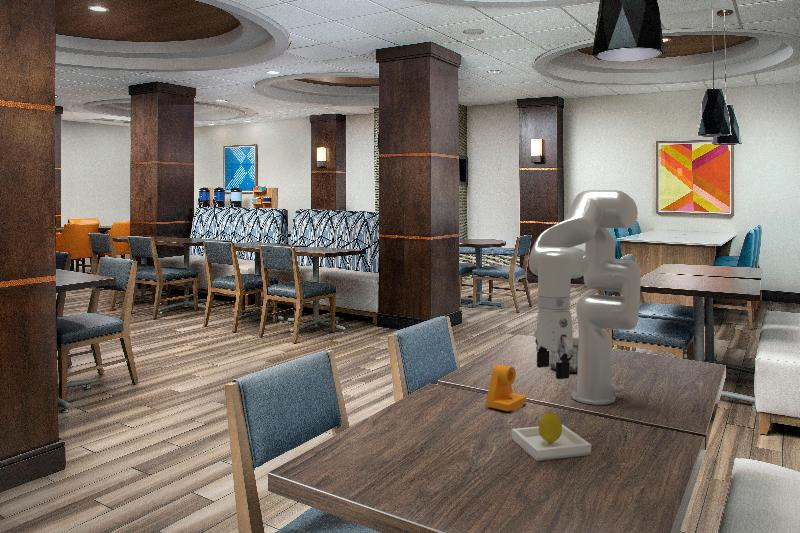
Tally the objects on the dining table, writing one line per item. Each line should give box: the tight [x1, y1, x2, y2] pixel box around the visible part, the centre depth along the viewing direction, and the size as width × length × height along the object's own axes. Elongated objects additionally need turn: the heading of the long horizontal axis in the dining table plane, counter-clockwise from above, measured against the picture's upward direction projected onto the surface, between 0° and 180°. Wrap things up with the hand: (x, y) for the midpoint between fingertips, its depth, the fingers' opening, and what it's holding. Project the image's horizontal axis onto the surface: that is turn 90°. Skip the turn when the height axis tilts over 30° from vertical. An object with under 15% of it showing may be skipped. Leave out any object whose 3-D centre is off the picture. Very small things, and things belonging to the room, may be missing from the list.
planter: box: [549, 336, 579, 373], centre depth 222 cm, size 13×13×10 cm
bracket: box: [486, 363, 527, 413], centre depth 183 cm, size 11×7×12 cm, turn 139°
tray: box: [511, 423, 592, 462], centre depth 154 cm, size 14×14×2 cm
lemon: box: [538, 411, 563, 444], centre depth 154 cm, size 6×6×8 cm
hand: (552, 372), depth 153 cm, fingers open, 9 cm apart
